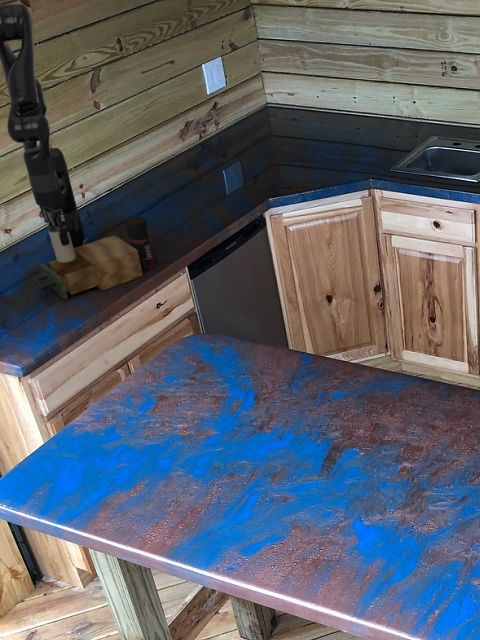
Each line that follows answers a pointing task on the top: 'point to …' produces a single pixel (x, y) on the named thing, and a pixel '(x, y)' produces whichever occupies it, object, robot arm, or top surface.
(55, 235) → the tin can
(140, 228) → the deodorant
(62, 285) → the drawer
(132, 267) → the cabinet
